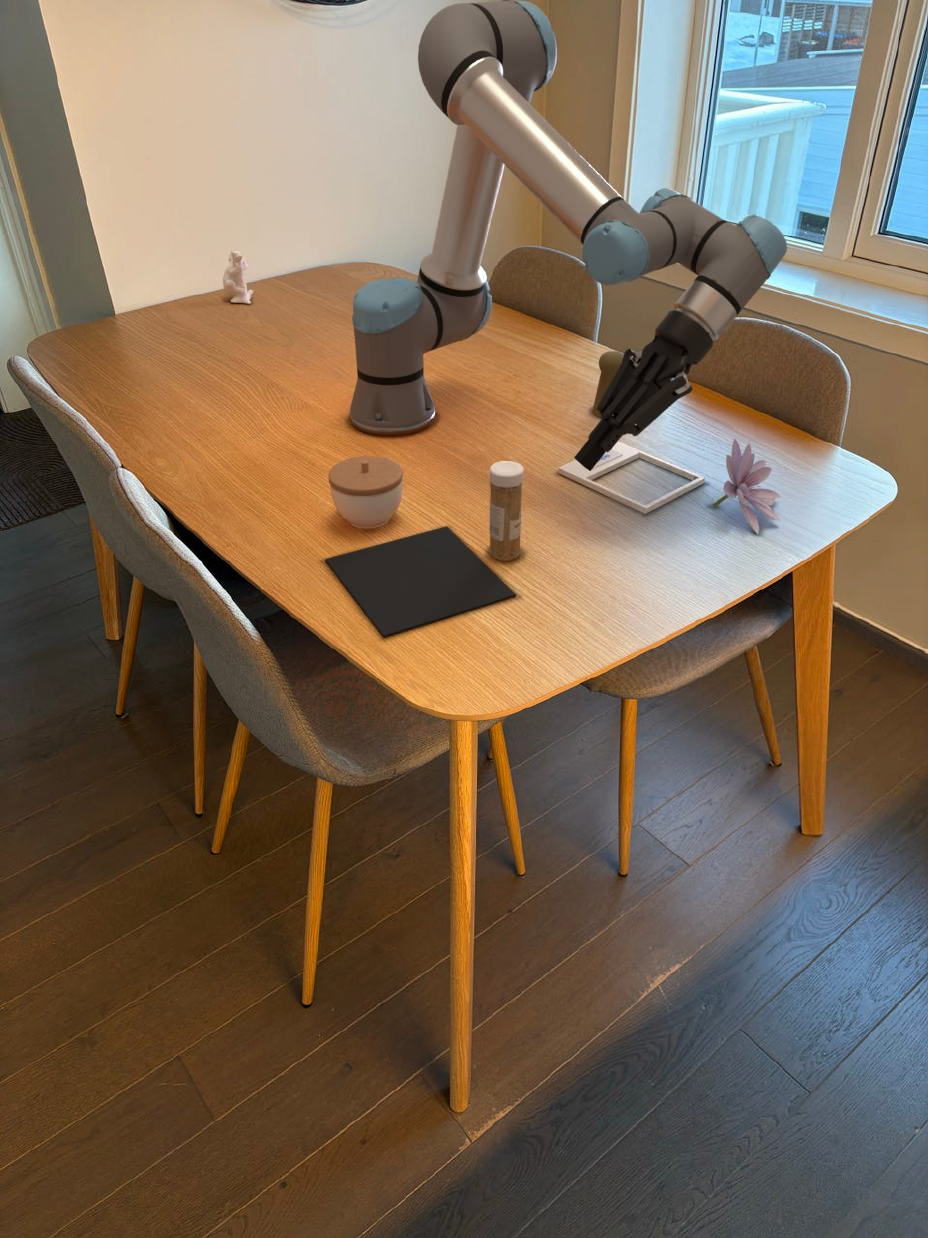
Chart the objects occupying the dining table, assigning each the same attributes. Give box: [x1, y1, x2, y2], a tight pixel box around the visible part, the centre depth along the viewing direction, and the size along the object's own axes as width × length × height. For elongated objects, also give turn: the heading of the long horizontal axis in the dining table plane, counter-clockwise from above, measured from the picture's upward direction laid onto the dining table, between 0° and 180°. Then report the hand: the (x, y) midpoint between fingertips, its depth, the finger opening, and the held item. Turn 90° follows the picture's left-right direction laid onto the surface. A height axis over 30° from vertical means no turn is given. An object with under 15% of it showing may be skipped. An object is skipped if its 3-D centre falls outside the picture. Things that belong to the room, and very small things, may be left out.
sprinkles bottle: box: [488, 460, 525, 562], centre depth 127 cm, size 5×5×13 cm
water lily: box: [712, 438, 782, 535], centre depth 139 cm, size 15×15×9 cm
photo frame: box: [557, 440, 706, 515], centre depth 149 cm, size 15×1×18 cm
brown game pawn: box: [592, 350, 625, 418], centre depth 167 cm, size 6×6×11 cm
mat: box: [324, 525, 517, 639], centre depth 126 cm, size 20×19×1 cm
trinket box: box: [327, 455, 404, 530], centre depth 137 cm, size 11×11×9 cm
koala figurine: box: [222, 250, 254, 305], centre depth 220 cm, size 8×7×12 cm
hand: (582, 464), depth 129 cm, fingers closed
